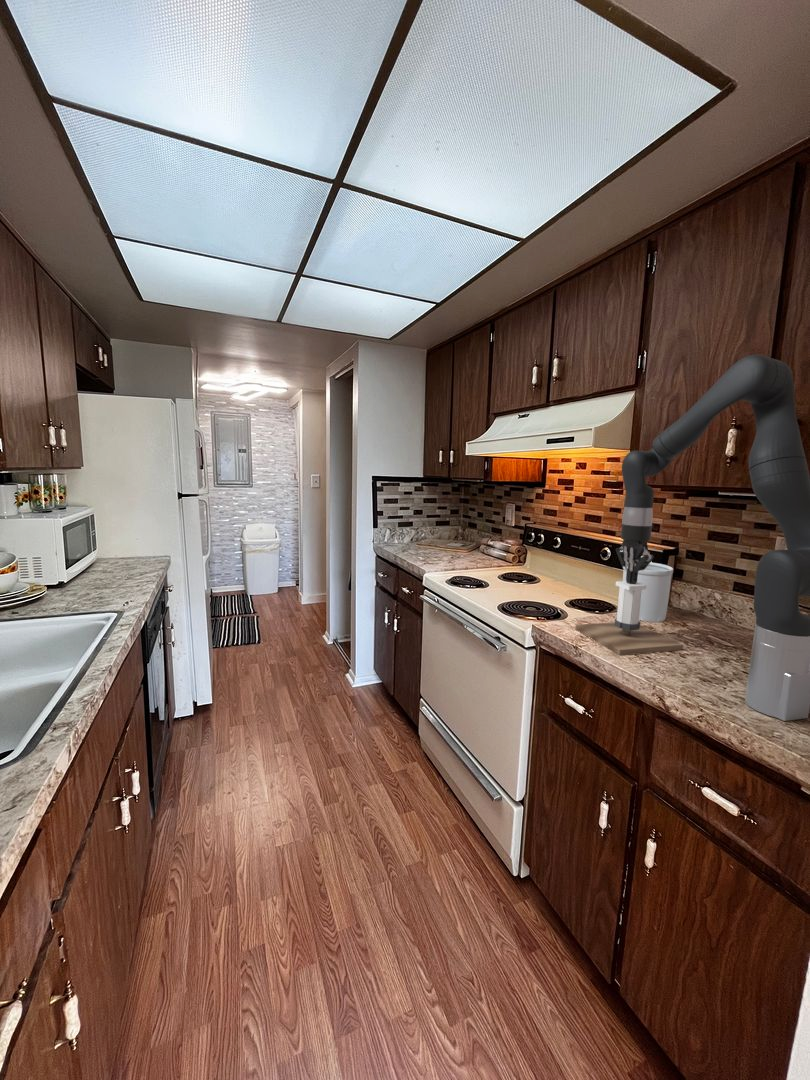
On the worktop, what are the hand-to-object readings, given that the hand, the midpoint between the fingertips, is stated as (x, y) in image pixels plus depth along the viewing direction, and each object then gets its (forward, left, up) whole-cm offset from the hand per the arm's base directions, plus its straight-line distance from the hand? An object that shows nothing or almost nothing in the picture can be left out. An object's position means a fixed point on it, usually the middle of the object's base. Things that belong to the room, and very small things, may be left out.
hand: (631, 583), depth 128 cm
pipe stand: (0, 0, -17) cm, 17 cm away
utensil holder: (+18, -21, -17) cm, 32 cm away
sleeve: (0, 0, -11) cm, 11 cm away
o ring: (0, 0, -13) cm, 13 cm away
